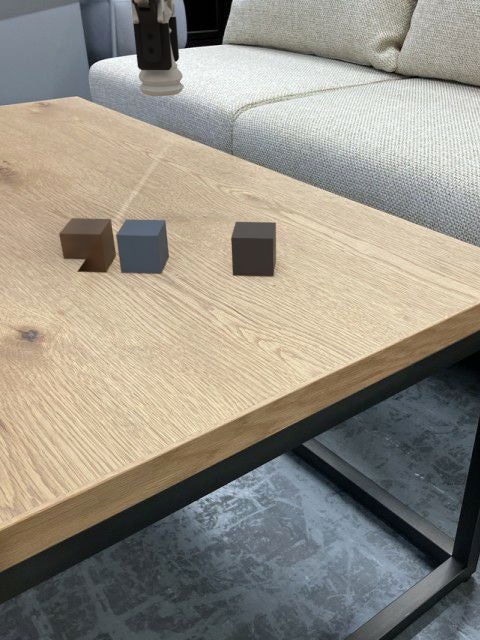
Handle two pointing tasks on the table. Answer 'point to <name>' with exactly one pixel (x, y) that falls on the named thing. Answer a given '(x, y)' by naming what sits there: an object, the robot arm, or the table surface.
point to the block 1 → (89, 243)
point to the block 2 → (143, 246)
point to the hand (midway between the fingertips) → (159, 63)
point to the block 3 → (254, 248)
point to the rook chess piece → (162, 74)
